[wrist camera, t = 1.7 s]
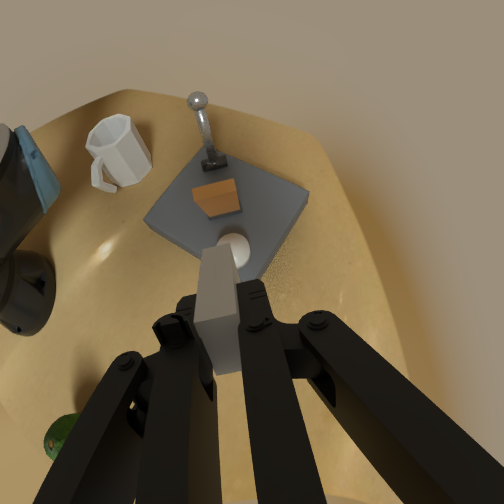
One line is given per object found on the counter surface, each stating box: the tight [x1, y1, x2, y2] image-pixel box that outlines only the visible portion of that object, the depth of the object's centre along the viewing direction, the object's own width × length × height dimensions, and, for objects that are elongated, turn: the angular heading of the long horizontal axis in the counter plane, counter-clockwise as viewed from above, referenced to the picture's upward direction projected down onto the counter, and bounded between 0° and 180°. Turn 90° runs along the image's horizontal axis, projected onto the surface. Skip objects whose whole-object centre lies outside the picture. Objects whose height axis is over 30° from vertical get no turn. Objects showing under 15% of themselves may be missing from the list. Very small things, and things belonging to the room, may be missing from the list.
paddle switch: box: [192, 178, 242, 221], centre depth 32 cm, size 4×2×12 cm, turn 103°
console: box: [143, 146, 309, 282], centre depth 40 cm, size 18×15×3 cm
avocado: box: [44, 413, 80, 461], centre depth 25 cm, size 8×8×12 cm
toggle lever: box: [187, 92, 228, 172], centre depth 36 cm, size 4×3×12 cm
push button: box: [216, 233, 251, 270], centre depth 35 cm, size 4×4×2 cm
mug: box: [85, 114, 152, 193], centre depth 41 cm, size 12×9×10 cm
